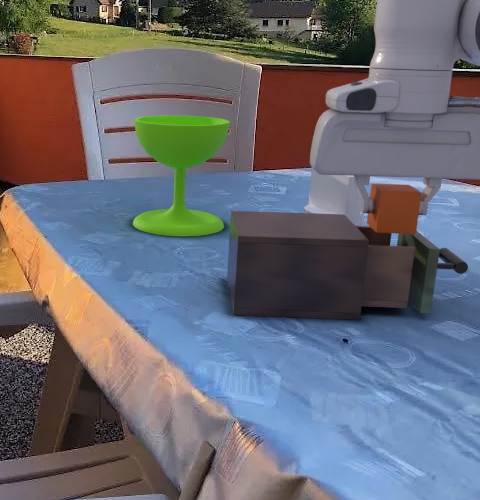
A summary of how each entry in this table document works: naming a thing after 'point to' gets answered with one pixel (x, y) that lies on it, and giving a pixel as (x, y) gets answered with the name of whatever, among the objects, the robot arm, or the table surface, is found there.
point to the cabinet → (296, 265)
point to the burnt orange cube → (394, 208)
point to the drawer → (404, 270)
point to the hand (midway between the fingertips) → (392, 213)
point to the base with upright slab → (334, 196)
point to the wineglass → (180, 168)
